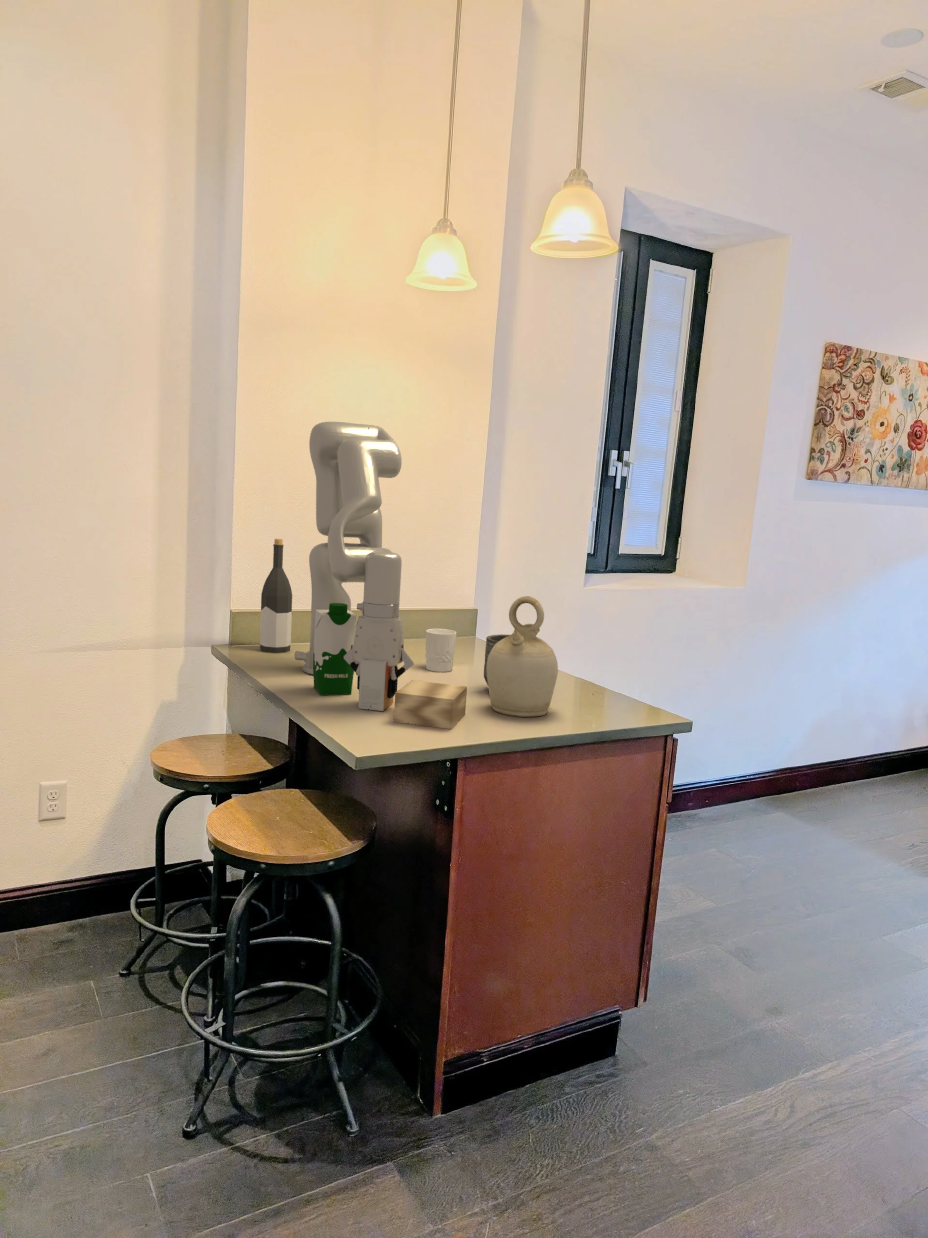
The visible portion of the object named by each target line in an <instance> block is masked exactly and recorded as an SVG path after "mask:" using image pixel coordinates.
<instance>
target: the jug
mask: <svg viewBox="0 0 928 1238" xmlns="http://www.w3.org/2000/svg"><path fill="white" fill-rule="evenodd" d="M523 604H529V605H531V606H532V607H533V608H534V609H535V613H536V620H535V622H534V623H526V624H525V623H524V624H522V623H520V622H519V620H518V618H517V612H518V609H519V607H521V605H523ZM508 618H509V623H510V624H511V626H512V627H513V628H514V629H513V631H512V634H509V635H510V636H507V637H505V638H504V639H502V640H500V641H499V642H498V643H496V644H495V645H494V647H493V648H492V650H491V652H490V654H489V656H488V660H487V667H486V669H487V680H488V685H487V687H488V695H489V700H490V704H491V708H492V710H493V711H495V712H497V713H499V714H501V715H504V716H509V717H517V718H518V717H519V718H536V717H541V716H545V715H547V713H548V710H549V707H550V705H551V702H552V698H553V695H554V691H555V687H556V683H557V679H558V674H559V672H558V671H559V669H558V667H559V666H558V659H557V656H556V654H555V652H554V649H553V648H552V647H551V646H550V645H549V644H548V643H547V642H546V641H545V640H543V639H542V638H540V637H538V636H537V635H538V633H539V632H540V628H541V626H542V625H543V623H544V620H545V612H544V607H543V605H542V604H541V603H540V601H539V600H537V599H536V598H535V597H533V596H528V595H525V596H520V597H519V598H516V599H515V600H514V601H513V603H512V604H511V606H510V608H509V611H508Z"/></svg>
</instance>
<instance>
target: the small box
mask: <svg viewBox="0 0 928 1238" xmlns="http://www.w3.org/2000/svg"><path fill="white" fill-rule="evenodd" d="M389 679H390V673H389V667H387V662H385V661H376V660H363V659H362V660H361V663H360V684H359V690H358V709H361V710H368V709H369V710H368V711H378V712H385V710H386V709H387V708H388V707H390V706H391V705H393V704H394V699H395V695H394V696H393V697H392V698H388V697H387V693H388V680H389ZM392 703H393V704H392Z"/></svg>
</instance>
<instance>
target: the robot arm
mask: <svg viewBox="0 0 928 1238" xmlns="http://www.w3.org/2000/svg"><path fill="white" fill-rule="evenodd" d="M309 434H310V436H309V446H308V447H309V454H310V458H311V462H312V465H313V469H314V474H315V480H316V481H315V482H316V484H315V485H316V490H315V492H316V493H315V523H316V528H317V531H318V533H319V534H321V535H323V536H325V537H327V542H322V543H319V544H316V545H315V546H313V547H312V548H311V550H310V553H309V555H308V558H309V559H308V561H309V563H308V565H309V572H310V583H311V606H310V607H311V608H310V609H311V610H310V611H311V612H310V635H309V636H310V637H309V650H308V651H306V652H304V651H301V650H296V651H295V652H294V659H295V661H303V662H304V664H303V665H302V671H303V672H304V673H306V674H309V675H313V652H314V630H315V627H314V625H315V610H329V604H331V603H343V604H347V605H348V609H347V610H349V611H351V609H352V602H351V598H350V595H349V593H348V592H347V591H346V590H345V588H344V587H343V585H342V584H345V583H363V600H362V602H360V603H357V604H356V609H357V610H358V611H359V610H360V611H361V614H362V615H359V616H358V618H357V620H356V631H355V638H354V645H353V648H352V649H351V650H350V651H349V652H348V653H347V654H346V655H345V656H344V659H345V660H346V661H347V663H348V664H350V666H351V668H352V669H353V670H354V672H355V676H356V677H357V679H356V680H357V683H356V684H357V687H356V690H358V691H359V684H360V663H361V660H362V659H363V660H376V661H385V662H387V667H389V673H390V679H389V680H388V693H387V697H388V698H392V697H393V696H394V697H395V692H397V691H398V680H399V678H400V677H401V676H402V675H404V673H406V671H408V670H409V669H410V668H412V667H413V666H414V665H415V662H414V661H413V660H412V659H411V657H410V656H409V655H408V653H407V652H406V651H405V646H404V645H405V637H404V627H403V620H402V617H399V616H400V601H401V599H400V598H401V597H400V596H401V582H402V581H401V580H402V556H400V554H398V553H397V552H393V551H392V550H391V549H389V548H384V547H383V516H382V511H381V506H382V502H383V500H382V493H381V488H380V482H379V481H380V480H379V478H383V479H393V478H396V477H397V476H398V475H399V474H400V472H401V469H402V464H403V463H402V461H403V460H402V453H401V450H400V447H399V446H398V443H397V442H396V441H395V440H394V438H393V437H392V436H391V435H390V434H389V433H388V432H387V431H386V430H385V429H384V428H382V427H380V426H379V425H374V424H363V423H352V422H344V421H343V422H342V421H324V422H319V423H317V424H315V425H314V426H313V427H312V429H311V431H310V433H309ZM344 538H357V539H359V543H357V542H356V543H353V542H352V543H351V542H350V543H349V542H345V539H344ZM402 663H404V664H403V665H402V666H401V667H400V668H399V666H398V665H399V664H402Z"/></svg>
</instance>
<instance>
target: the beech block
mask: <svg viewBox="0 0 928 1238" xmlns="http://www.w3.org/2000/svg"><path fill="white" fill-rule="evenodd" d="M467 693H468V687H467V686H463V685H458V684H457V685H456V684H447V683H437V682H430V681H423V680H421V681H420V680H413V679H412V680H411V681H409V682H407V683H406V684H405V685H403V686H402V687H400V688H399V689H397V692H395V695H394V710H393V722H394V723H400V724H407V723H409V725H415V724H416V725H417V726H424V727H432V728H439V729H448V730H453V729H454V727H456V726H457V724H458V723H459V722H460V721H461V720H462V719H463V718H464V717H465V716H466V708H467V707H466V706H467ZM416 725H415V726H416Z"/></svg>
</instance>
